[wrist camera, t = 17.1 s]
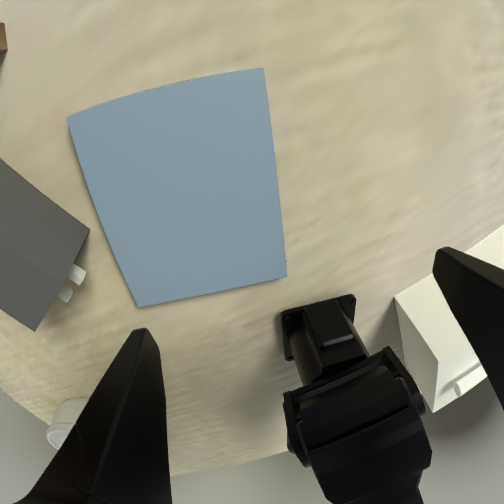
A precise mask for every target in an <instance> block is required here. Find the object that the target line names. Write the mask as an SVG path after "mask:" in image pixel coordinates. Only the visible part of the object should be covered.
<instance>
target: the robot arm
mask: <svg viewBox="0 0 504 504" xmlns="http://www.w3.org/2000/svg"><path fill="white" fill-rule="evenodd" d="M432 271H433V276H434V278H435V280H436V282H437V284H438V286H439V288H440V290H441V292H442V294H443V296H444V298H445V300H446V302H447V304H448V306H449V308H450V310H451V312H452V314H453V315H454V317H455V319H456V320H457V322H458V324H459V326H460V327H461V329H462V331H463V332H464V334H465V336H466V338H467V339H468V341H469V343H470V345H471V346H472V348H473V350H474V352H475V354H476V355H477V357H478V359H479V361H480V363H481V365H482V367H483V369H484V371H485V373H486V374H487V376H488V378H489V380H490V382H491V384H492V386H493V389H494V391H495V392H496V395H497V397H498V399H499V401H500V403H501V405H502V408H503V410H504V269H502V268H499V267H497V266H495V265H492V264H490V263H488V262H485V261H483V260H480V259H478V258H476V257H473V256H471V255H468V254H466V253H463V252H461V251H458V250H456V249H453V248H451V247H443V248H440V249H438V250H437V252H436V255H435V260H434V264H433V270H432ZM355 306H356V298H355V296H354V295H353V294H348V295H345V296H341V297H337V298H333V299H329V300H326V301H322V302H318V303H314V304H310V305H306V306H302V307H297V308H293V309H289V310H285V311H283V312H282V313H281V314H280V319H281V328H282V337H283V347H284V356H285V359H286V360H287V361H292V360H295V363H296V366H297V369H298V372H299V375H300V378H301V381H302V383H303V387H301V388H298V389H296V390H293V391H287V392H285V393H283V396H284V402H283V409H284V413H285V419H286V425H287V447H288V450H289V452H291V453H293V454H296V456H297V457H298V458H299V460H300V461H301V463H302V464H303V466H304V467H306V468H307V467H310V466H311V467H312V469H313V471H314V473H315V476H316V478H317V480H318V482H319V484H320V486H321V489H322V490H323V493H324V495H325V497H326V499H327V500H329V501H330V502H331V503H333V504H424V503H423V500H422V497H421V494H420V491H419V489H418V485H419V482H420V479H421V475H422V472H423V470H424V469H426V468H428V467H429V466H430V462H431V456H432V450H431V447H430V445H429V440H428V438H427V435H426V432H425V429H424V426H423V423H422V421H421V417H423V416H424V415H425V406H424V402H423V399H422V396H421V394H420V391H419V389H418V387H417V385H416V383H415V381H414V380H413V378H412V377H411V375H410V374H409V373H408V371H407V370H406V368H405V367H404V366H403V364H402V363H401V362H400V360H399V359H398V357H397V356H396V355H395V353H394V352H393V351H392V349H391V348H390V347H389V346H387V347H385V348H383V349H382V350H381V351H379V352H377V353H376V354H374V355H372V356H370V355H369V354H368V352H367V350H366V348H365V346H364V344H363V342H362V340H361V338H360V337H359V335H358V333H357V331H356V329H355V327H354V325H353V322H354V314H355ZM286 316H287V317H286ZM13 504H172V496H171V485H170V473H169V459H168V443H167V421H166V397H165V389H164V382H163V375H162V367H161V358H160V351H159V347H158V345H157V343H156V342H155V340H154V338H153V337H152V335H151V333H150V332H149V330H148V329H147V328H140V329H136V330H133V331H132V332H131V334H130V335H129V337H128V338H127V340H126V341H125V343H124V344H123V346H122V348H121V349H120V351H119V352H118V354H117V355H116V357H115V358H114V360H113V362H112V363H111V365H110V366H109V368H108V370H107V371H106V373H105V374H104V376H103V377H102V379H101V381H100V382H99V384H98V386H97V387H96V389H95V390H94V392H93V394H92V395H91V397H90V399H89V400H88V402H87V404H86V405H85V407H84V409H83V410H82V412H81V414H80V415H79V417H78V419H77V420H76V424H74V425H73V427H72V429H71V431H70V432H69V434H68V436H67V437H66V439H65V441H64V442H63V444H62V446H61V447H60V449H59V450H58V452H57V453H56V455H55V456H54V458H53V459H52V461H51V462H50V464H49V465H48V467H47V468H46V470H45V471H44V473H43V474H42V475H41V477H40V478H39V480H38V481H37V482H36V484H35V485H34V487H33V488H32V490H31V491H30V492H29V493H28V494H27V495H26V496H25V497H24V498H23V499H21V500H20V501H18V502H16V503H13Z"/></svg>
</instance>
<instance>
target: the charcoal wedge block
mask: <svg viewBox="0 0 504 504" xmlns="http://www.w3.org/2000/svg"><path fill="white" fill-rule="evenodd" d="M89 230H90V229H89V228H88V227H86V226H85V225H84V224H82V223H81V222H80V221H78V220H77V219H76V218H74V217H73V216H72V215H70V214H69V213H68V212H66V211H65V210H64V209H62V208H61V207H60V206H58V205H57V204H56V203H55V202H53V201H52V200H51V199H49V198H48V197H47V196H46V195H44V194H43V193H42V192H40V191H39V190H38V189H37V188H35V187H34V186H33V185H32V184H30V183H29V182H28V181H27V180H26V179H24V178H23V177H22V176H21V175H19V174H18V173H17V172H16V171H15V170H13V169H12V168H11V167H10V166H9V165H7V164H6V163H5V162H4V161H3V160H2V159H0V309H1V310H3V311H4V312H6V313H7V314H8V315H10V316H11V317H13V318H14V319H16V320H17V321H19V322H20V323H22V324H23V325H25V326H27V327H28V328H30V329H31V330H33V331H34V332H35V331H36V329H37V327H38V326H39V324H40V322H41V320H42V319H43V317H44V315H45V314H46V312H47V310H48V309H49V307H50V305H51V304H52V302H53V301H54V299H55V297H58V298H59V299H61V300H62V301H64V302H66V303H68V301H69V300H70V298H71V296H72V293H73V291H74V290H72V289H71V288H69V287H67V286H66V285H64V283H65V280H66V278H68V279H70V280H71V281H73V282H74V283H76V284H77V285H79V286H80V284H81V283H82V281H83V280H84V278H85V275H86V271H84V270H83V269H81V268H80V267H78V266H77V265H75V264H74V261H75V258H76V256H77V254H78V252H79V250H80V248H81V246H82V244H83V242H84V240H85V238H86V236H87V234H88V232H89Z"/></svg>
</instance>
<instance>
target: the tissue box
mask: <svg viewBox="0 0 504 504" xmlns="http://www.w3.org/2000/svg"><path fill="white" fill-rule="evenodd" d="M464 253H466V254H468V255H471V256H473V257H476V258H478V259H480V260H483V261H485V262H488V263H490V264H492V265H495V266H497V267H499V268H502V269H504V225H502V226H501V227H500V228H498V229H497V230H495V231H494V232H493V233H491V234H490V235H489V236H487V237H486V238H484V239H483V240H482V241H480V242H479V243H477V244H476V245H474V246H473V247H471V248H470V249H469V250H467V251H466V252H464ZM394 299H395V304H396V310H397V315H398V321H399V327H400V333H401V339H402V346H403V353H404V360H405V364H406V366H407V367H408V369H409V371H410V373H411V374H412V376H413V378H414V380H415V381H416V383H417V385H418V387H419V389H420V390H421V392H422V394H423V396H424V398H425V400H426V401H427V403H428V405H429V407H430V409H431V411H432V412H433V413H434V412H435V411H437V410H439V409H440V408H442V407H443V406H445V405H446V404H448V403H450V402H451V401H453V400H454V399H456V398H457V397H460V396H461V395H463V394H464V393H466V392H467V391H468V390H470V389H471V388H473V387H474V386H475V385H477V384H478V383H479V382H480V381H482V380H483V379H484V378H486V377H487V374H486V373H485V371H484V369H483V367H482V365H481V363H480V361H479V359H478V357H477V355H476V354H475V352H474V350H473V348H472V346H471V345H470V343H469V341H468V339H467V338H466V336H465V334H464V332H463V331H462V329H461V327H460V326H459V324H458V322H457V320H456V319H455V317H454V315H453V314H452V312H451V310H450V308H449V306H448V304H447V302H446V300H445V298H444V296H443V294H442V292H441V290H440V288H439V286H438V284H437V282H436V280H435V278H434V276H433V273H432V274H430V275H429V276H427V277H425V278H424V279H422V280H420V281H419V282H417V283H415V284H414V285H412V286H410V287H409V288H407V289H405V290H404V291H402V292H400V293H399V294H397V295H395V296H394Z"/></svg>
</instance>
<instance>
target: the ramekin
mask: <svg viewBox="0 0 504 504" xmlns="http://www.w3.org/2000/svg"><path fill="white" fill-rule="evenodd" d="M88 400H89V399H88V398H72V399H68V400H66V401H64V402H63V403H61V404H60V405H59V407H58V409H57V411H56V414H55V416H54V419H53V421H52V424H51V426H50V427H49V428H48V430H47V439H48V441H49V442H50V444H51V445H52V446H54V447H55V448H56V449H58V450H59V449H60V447H61V446H62V444H63V442H64V441H65V439H66V437H67V436H68V434H69V432H70V431H71V429H72V427H73V425H74V424H76V420H77V419H78V417H79V415H80V414H81V412H82V410H83V409H84V407H85V405H86V404H87V402H88Z"/></svg>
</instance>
